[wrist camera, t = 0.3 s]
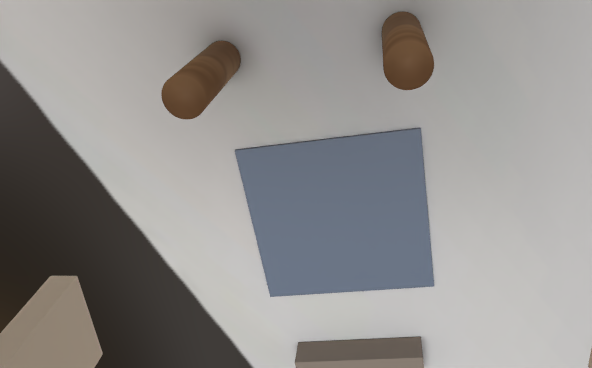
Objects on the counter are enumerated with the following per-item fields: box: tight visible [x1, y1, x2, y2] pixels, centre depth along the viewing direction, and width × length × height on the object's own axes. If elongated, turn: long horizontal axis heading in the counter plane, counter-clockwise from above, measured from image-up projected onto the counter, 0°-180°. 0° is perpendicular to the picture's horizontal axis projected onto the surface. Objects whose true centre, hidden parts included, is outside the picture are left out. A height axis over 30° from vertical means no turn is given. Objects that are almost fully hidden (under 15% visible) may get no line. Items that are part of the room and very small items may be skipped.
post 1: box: [162, 41, 241, 119], centre depth 35 cm, size 3×3×9 cm
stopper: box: [295, 337, 424, 368], centre depth 49 cm, size 3×11×2 cm, turn 100°
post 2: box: [382, 12, 434, 90], centre depth 33 cm, size 3×3×9 cm
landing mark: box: [235, 128, 434, 297], centre depth 44 cm, size 14×14×1 cm
